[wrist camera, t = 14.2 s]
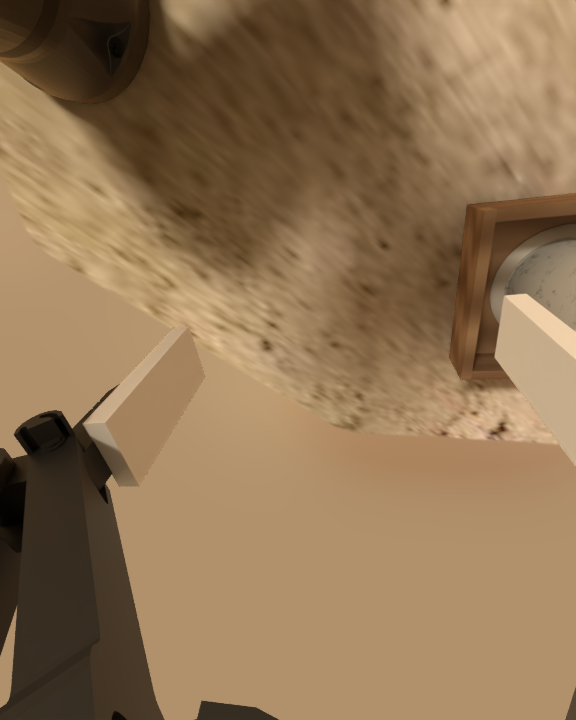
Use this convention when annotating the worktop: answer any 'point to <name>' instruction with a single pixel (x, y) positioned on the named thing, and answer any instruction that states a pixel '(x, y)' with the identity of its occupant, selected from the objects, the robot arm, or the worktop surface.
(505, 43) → the worktop surface
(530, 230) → the box
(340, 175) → the worktop surface
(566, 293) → the grey speckled cylinder
